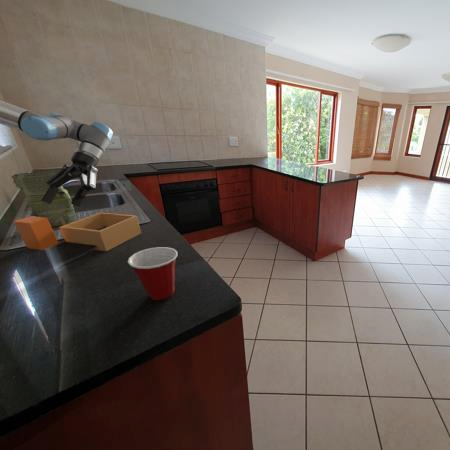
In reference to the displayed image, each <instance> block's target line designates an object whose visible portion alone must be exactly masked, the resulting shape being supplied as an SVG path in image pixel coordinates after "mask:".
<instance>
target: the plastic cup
mask: <svg viewBox="0 0 450 450" xmlns="http://www.w3.org/2000/svg"><path fill="white" fill-rule="evenodd" d="M178 254H179V253H178V250H176V249H175V248H173V247H169V246H165V247H164V246H158V247H150V248H146V249H142V250H140V251H137V252H135V253H133V254H132V255H131V256H130V257H128V260H127V263H128V265H129V266H130V267H131V268H132V270H133V271H134V273H135V274H136V276H137V278H138V279H139V281H140V283H141V285H142V286H143V288H144V290H145V291H146V293H147V294H148V296H149V297H150V298H151V300H153V301H163V300H166V299H168V298H170V297H172V296H173V295H174V293H175V290H176V287H175V282H176V274H175V273H176V270H175V269H176V260H177V257H178V256H179V255H178Z"/></svg>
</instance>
